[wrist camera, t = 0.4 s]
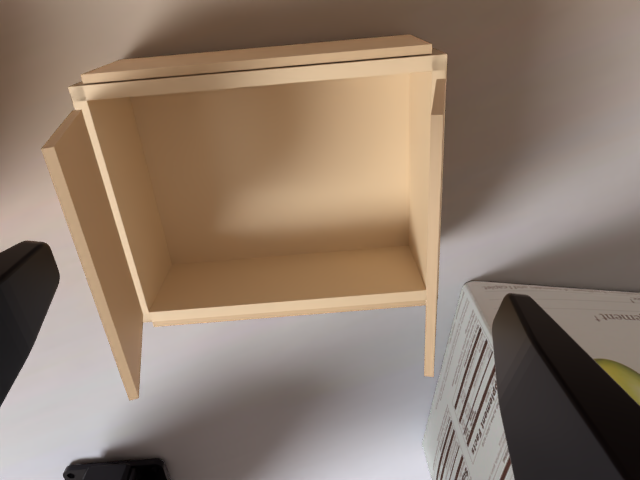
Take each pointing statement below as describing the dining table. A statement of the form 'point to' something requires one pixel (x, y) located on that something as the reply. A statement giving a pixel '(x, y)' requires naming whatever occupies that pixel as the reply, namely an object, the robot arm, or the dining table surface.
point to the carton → (269, 176)
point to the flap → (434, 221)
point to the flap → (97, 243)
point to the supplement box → (480, 378)
